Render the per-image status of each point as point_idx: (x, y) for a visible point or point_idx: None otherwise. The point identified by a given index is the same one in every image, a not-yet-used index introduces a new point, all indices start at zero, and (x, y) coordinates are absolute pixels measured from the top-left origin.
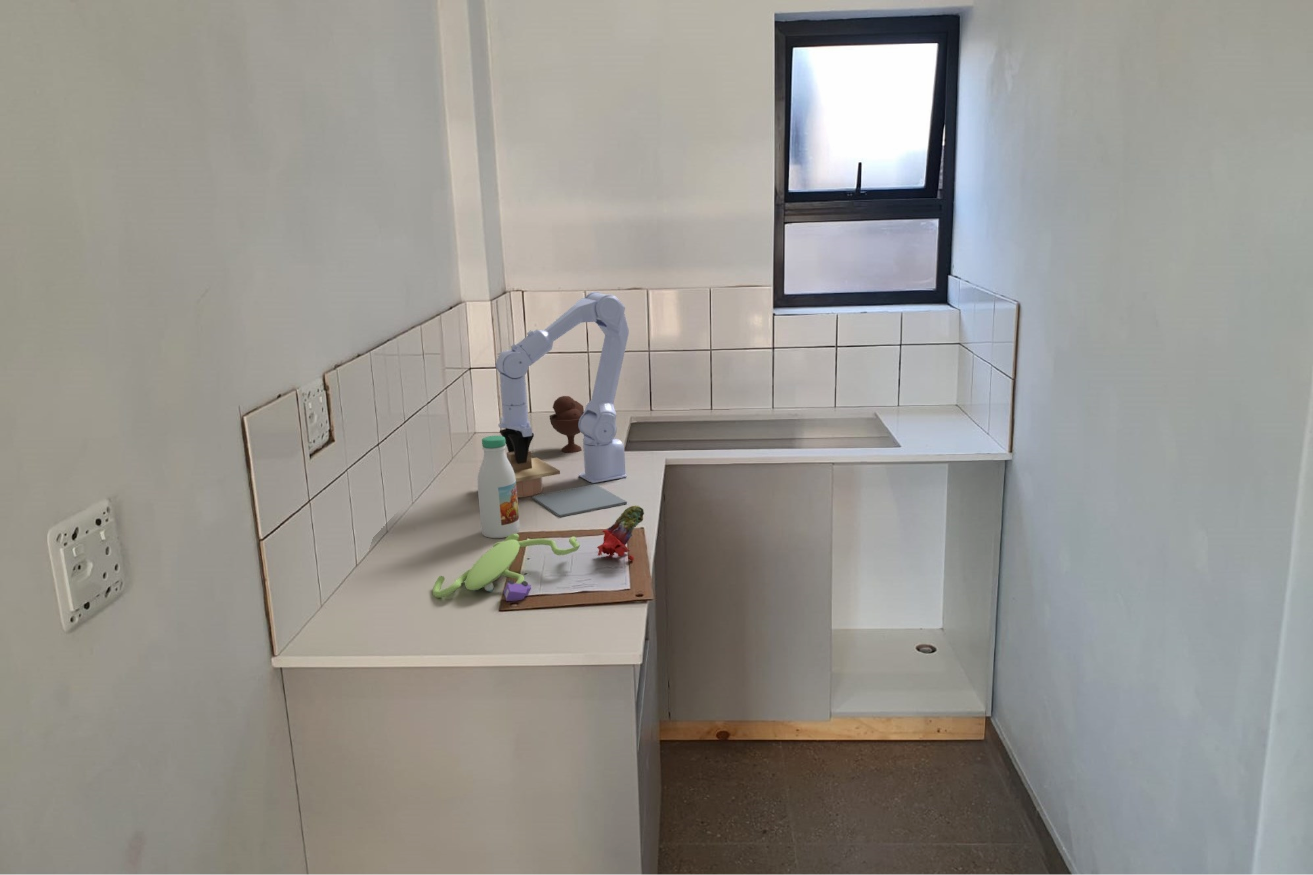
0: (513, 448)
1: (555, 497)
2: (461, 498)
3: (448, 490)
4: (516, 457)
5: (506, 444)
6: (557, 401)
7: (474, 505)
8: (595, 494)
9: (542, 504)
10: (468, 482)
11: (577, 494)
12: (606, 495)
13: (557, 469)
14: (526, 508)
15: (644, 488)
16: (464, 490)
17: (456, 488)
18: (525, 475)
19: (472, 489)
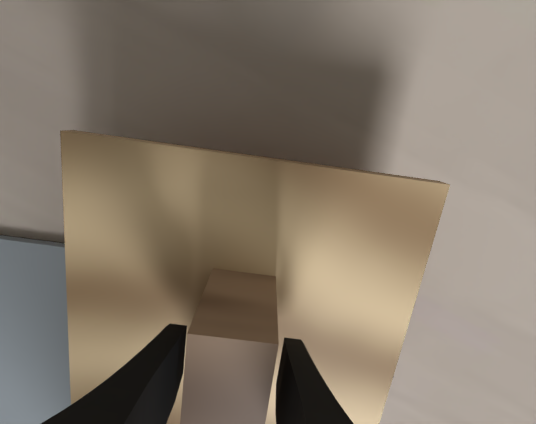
0: (289, 420)
1: (50, 309)
2: (332, 10)
3: (500, 21)
4: (149, 345)
5: (338, 418)
6: None
7: (186, 8)
8: (7, 416)
9: (10, 238)
10: (528, 161)
11: (40, 378)
12: None
13: None
14: (11, 171)
15: None
16: (435, 86)
17: (495, 70)
18: (90, 286)
19: (418, 123)
